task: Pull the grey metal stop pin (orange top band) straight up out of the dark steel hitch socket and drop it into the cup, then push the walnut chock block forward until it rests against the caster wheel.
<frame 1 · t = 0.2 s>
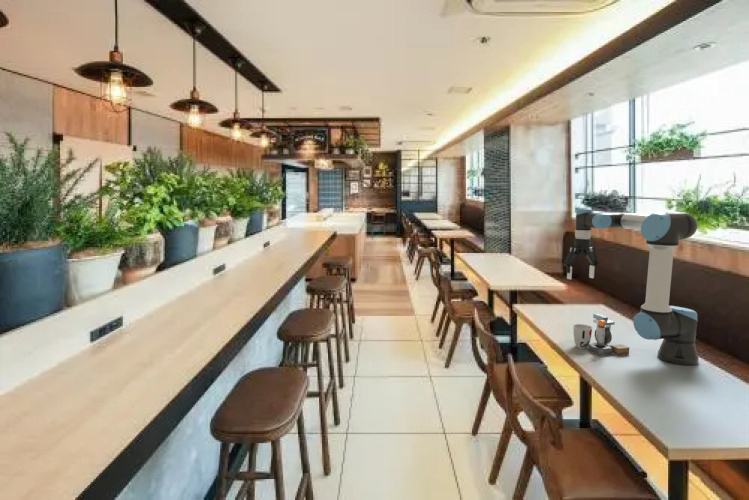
hand: (580, 278, 247), 28 cm above the table, fingers open, 13 cm apart
chock: (619, 353, 215), on the table
pin: (600, 336, 215), in the hitch
caster wheel: (602, 343, 228), on the table
hitch: (599, 352, 216), on the table
cup: (581, 347, 224), on the table
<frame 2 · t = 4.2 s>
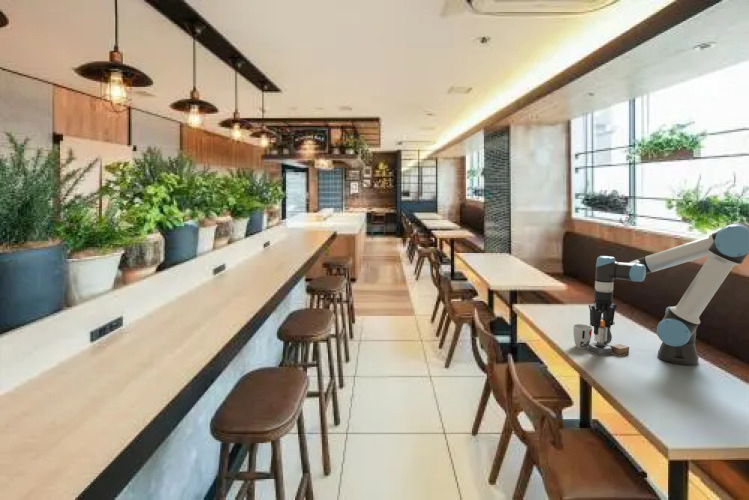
hand: (600, 340, 215), 6 cm above the table, fingers closed on pin, 3 cm apart
pin: (600, 336, 215), in the hitch, touching gripper
everything else where it was.
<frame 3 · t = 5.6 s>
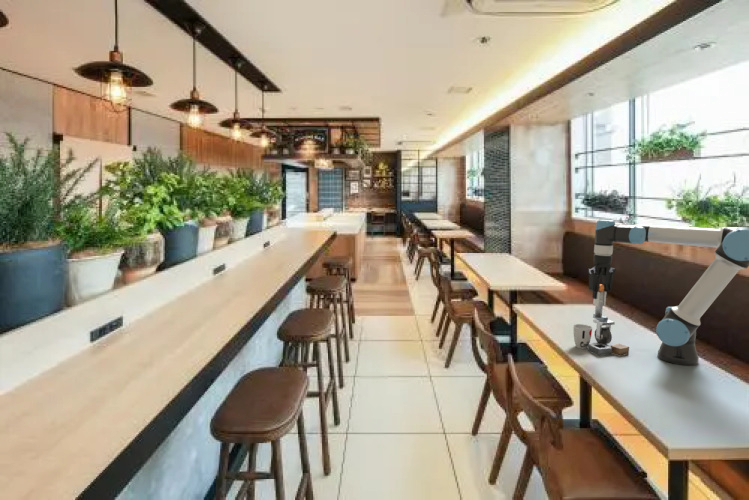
hand: (599, 305, 215), 22 cm above the table, fingers closed on pin, 3 cm apart
pin: (599, 301, 214), point 24 cm above the table, touching gripper
everything else where it was.
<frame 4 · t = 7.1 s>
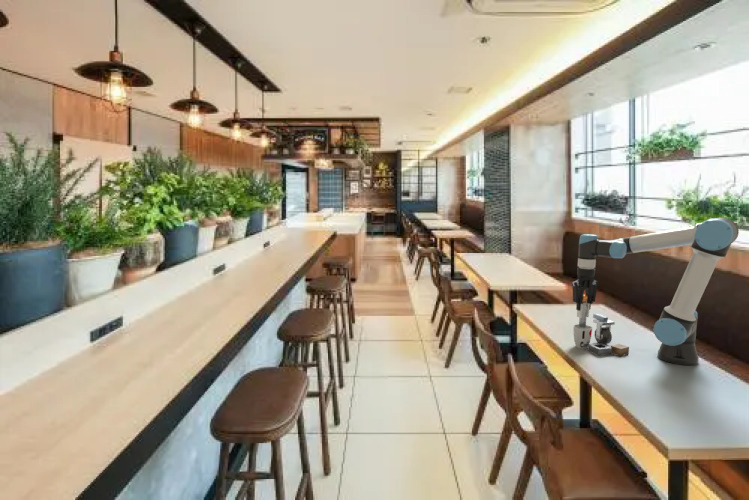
hand: (582, 316, 222), 15 cm above the table, fingers closed on pin, 3 cm apart
pin: (583, 311, 221), point 17 cm above the table, touching cup, gripper
cup: (581, 347, 224), on the table, touching pin
everything else where it was.
when the fingers open (13 cm above the table, at t = 7.6 s): pin stays where it is, resting on cup.
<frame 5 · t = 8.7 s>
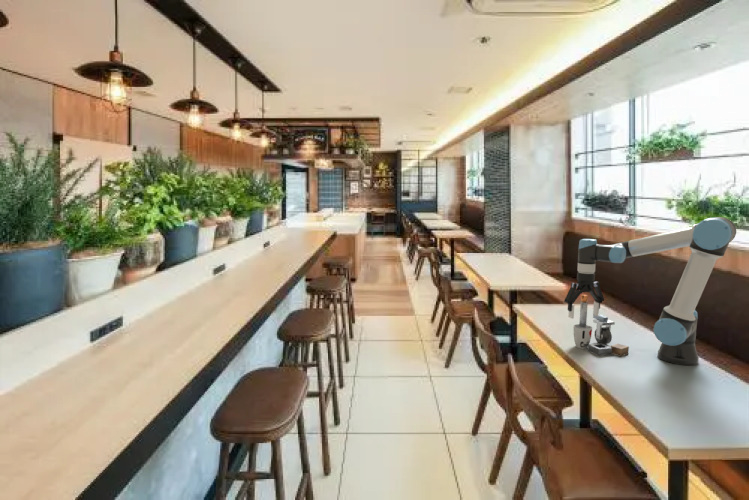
hand: (583, 316, 222), 15 cm above the table, fingers open, 13 cm apart
pin: (583, 311, 221), point 18 cm above the table, touching cup
everything else where it was.
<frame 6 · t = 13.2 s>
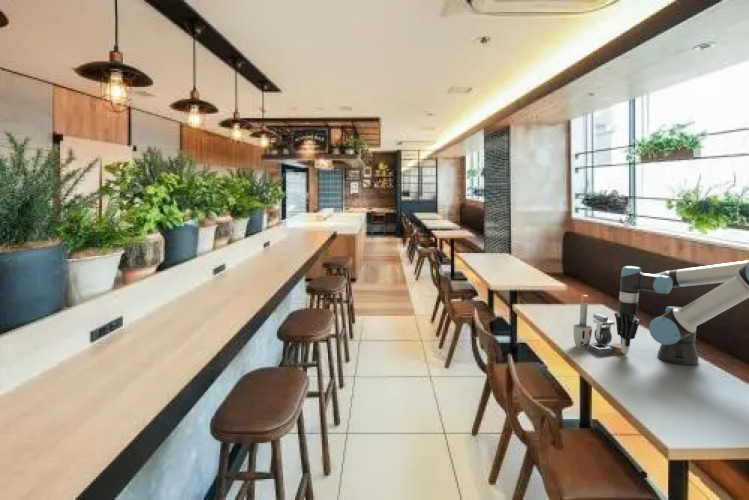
hand: (624, 352, 212), 2 cm above the table, fingers closed
chock: (617, 352, 216), on the table, touching gripper
everything else where it was.
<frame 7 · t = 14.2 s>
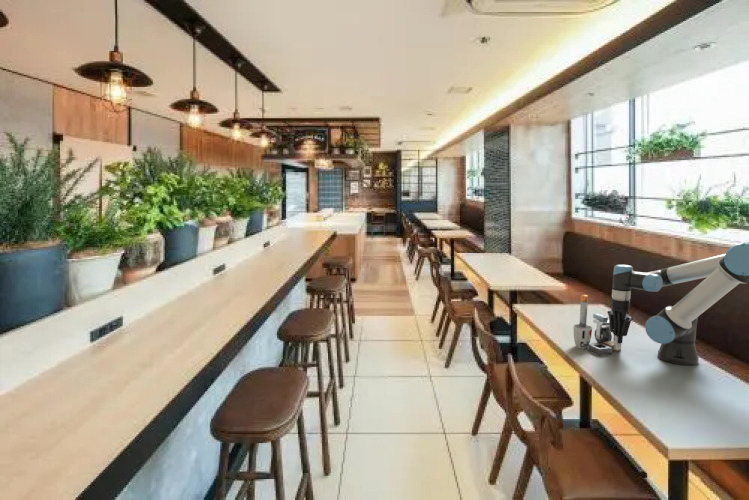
hand: (617, 349, 216), 1 cm above the table, fingers closed
chock: (611, 350, 220), on the table
everything else where it was.
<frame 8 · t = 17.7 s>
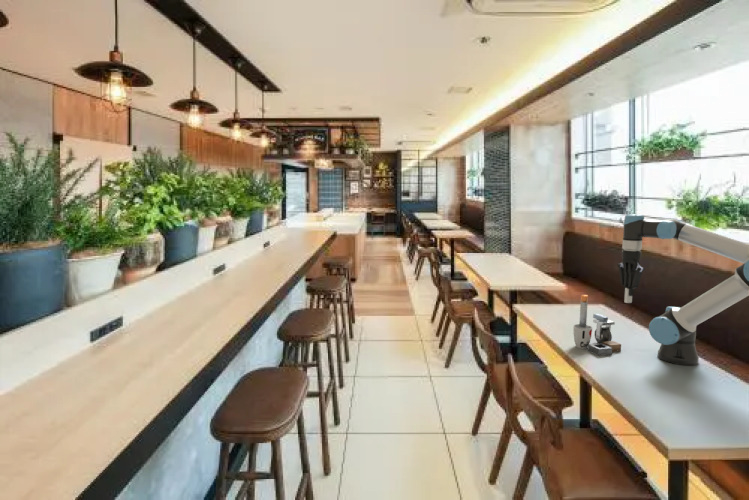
hand: (628, 302, 209), 24 cm above the table, fingers closed
nothing on the table moved.
at the end: pin 0.1 cm from the cup (horizontally); pin touching cup; chock 2.3 cm from the target spot on the table beside the caster wheel, on the table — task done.
